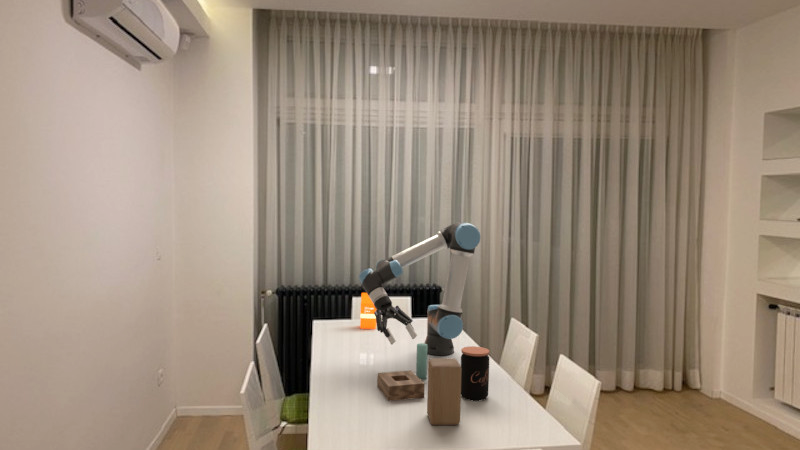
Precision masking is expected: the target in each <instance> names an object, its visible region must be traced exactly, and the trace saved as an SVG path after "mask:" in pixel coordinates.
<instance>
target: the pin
mask: <svg viewBox="0 0 800 450" xmlns="http://www.w3.org/2000/svg"><path fill="white" fill-rule="evenodd" d="M424 343H425V342H422V343H417V344H416V362H415V364H416V366H415V369H416V370H415V371H416V372H415V375H416V376H417V377H418V378H419V379H420V380H426V379H428V353H427V344H424Z"/></svg>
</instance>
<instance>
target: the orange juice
mask: <svg viewBox="0 0 800 450" xmlns="http://www.w3.org/2000/svg"><path fill="white" fill-rule="evenodd" d="M360 299H361V300H360V323H359V325H360V327H359V328H360V329H361V330H363V329H368V330H369V329H370V330H371V329H372V330H377V323H376V316H375V314H374V312H375V311H376V308H375V306H374V304H373V303H372V301H371V299H370V297H369V296H368V294H367V292H361V296H360Z"/></svg>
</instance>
